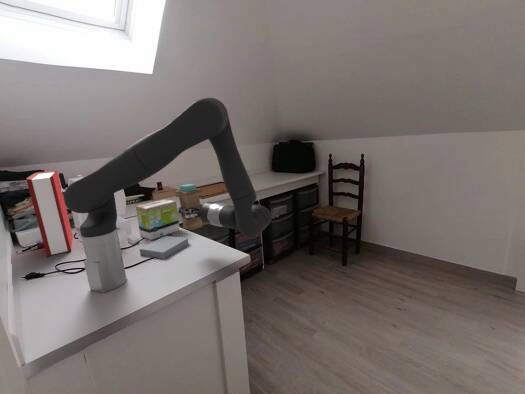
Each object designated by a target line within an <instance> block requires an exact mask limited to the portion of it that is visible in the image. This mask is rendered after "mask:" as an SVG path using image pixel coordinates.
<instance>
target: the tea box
mask: <svg viewBox="0 0 525 394" xmlns="http://www.w3.org/2000/svg"><path fill="white" fill-rule="evenodd" d="M135 210H136V217H137V223H138V224H137V225H138V230H139V236H140V237H142V238H144V239H148V240H149V241H154V240H155V239H157V238H162V237H164V236H168V235H169V234H172V233H175V232H178V231H180V230H181V229H180V222H179V221H180V220H179V211H178V205H177V201H176V200H170V199H161V200H157V201H152V202H148V203H143V204H139V205H136V206H135Z"/></svg>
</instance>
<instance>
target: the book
mask: <svg viewBox="0 0 525 394" xmlns="http://www.w3.org/2000/svg"><path fill="white" fill-rule="evenodd" d="M25 180H26V184H27V188H28V191H29V194H30V198H31V202H32V206H33V209H34V213H35V217H36V221H37V224H38V228H39V232H40V236H41V240H42V243H43V246H44V251H45V254H46V258H49V257H51V256H52V255H56V254H57V255H58V254H61V253H65V252H70V253H72V249H73V248H72V247H73V232H72V227H71V223H70V220H69V219H70V218H69V214H68V210H67V206H66V205H65V202H64V193H63V191H62V192H61V189H62V186H61V182H60V177H59V174H58V170H47V171H41V172H40V171H38V172H34V173H32V174H31V175H29V176H28V177H27V178H25Z"/></svg>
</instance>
